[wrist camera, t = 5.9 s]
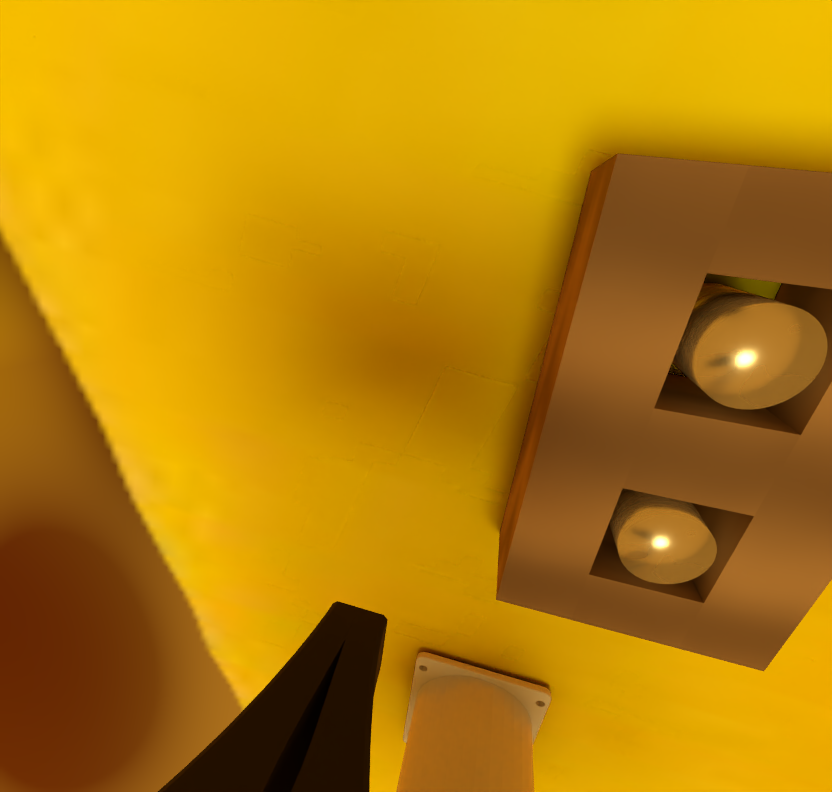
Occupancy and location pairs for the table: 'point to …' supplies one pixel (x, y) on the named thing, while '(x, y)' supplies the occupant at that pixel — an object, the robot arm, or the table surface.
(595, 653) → the table surface
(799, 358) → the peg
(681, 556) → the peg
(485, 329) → the table surface
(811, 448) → the socket block
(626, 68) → the table surface
